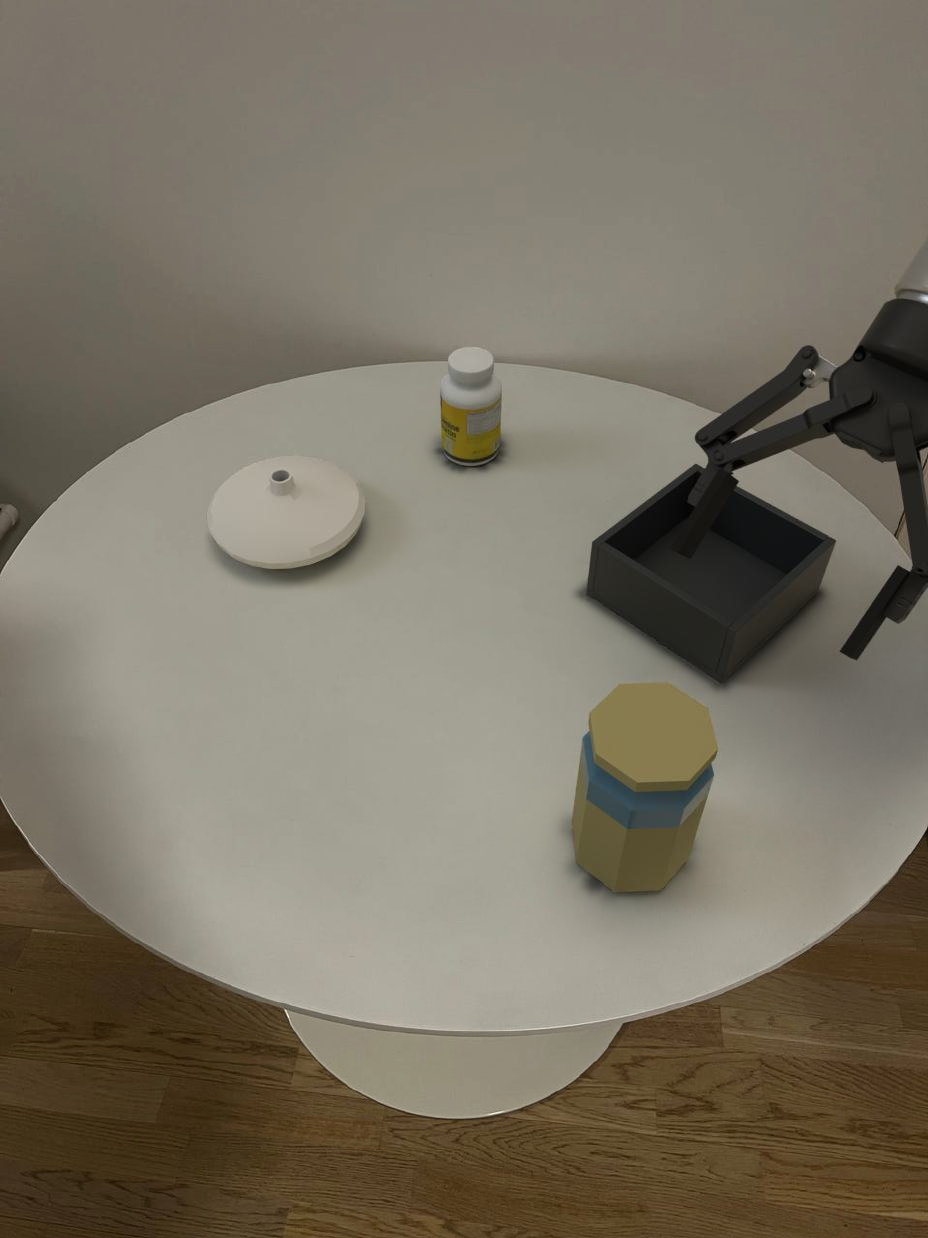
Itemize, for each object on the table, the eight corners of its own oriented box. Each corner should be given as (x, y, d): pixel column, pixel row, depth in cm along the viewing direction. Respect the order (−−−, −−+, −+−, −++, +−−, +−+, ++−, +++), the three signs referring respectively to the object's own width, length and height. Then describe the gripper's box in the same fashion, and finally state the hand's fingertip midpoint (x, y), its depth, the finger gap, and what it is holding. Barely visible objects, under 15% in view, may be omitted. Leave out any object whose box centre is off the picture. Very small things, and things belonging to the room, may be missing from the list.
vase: (182, 562, 99) (166, 508, 94) (259, 466, 109) (248, 412, 104) (326, 602, 95) (317, 548, 90) (392, 499, 105) (388, 445, 100)
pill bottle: (443, 431, 113) (440, 340, 104) (500, 432, 113) (502, 341, 104) (440, 468, 108) (437, 376, 100) (500, 469, 108) (502, 377, 100)
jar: (673, 916, 74) (708, 807, 63) (554, 877, 76) (566, 765, 65) (699, 814, 79) (734, 697, 68) (586, 780, 82) (603, 662, 70)
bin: (818, 592, 95) (837, 540, 90) (721, 683, 88) (736, 632, 83) (685, 515, 103) (695, 462, 98) (585, 593, 96) (591, 541, 91)
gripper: (1136, 421, 62) (935, 706, 66) (789, 276, 74) (636, 525, 78) (1145, 384, 56) (921, 703, 60) (763, 232, 68) (598, 506, 72)
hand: (759, 603), depth 69 cm, fingers open, 13 cm apart
